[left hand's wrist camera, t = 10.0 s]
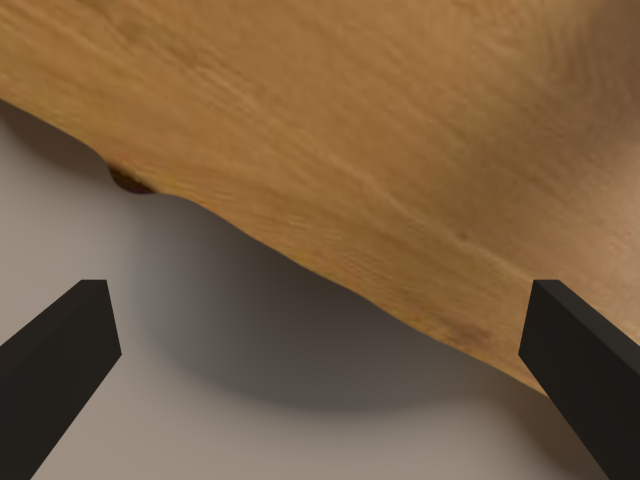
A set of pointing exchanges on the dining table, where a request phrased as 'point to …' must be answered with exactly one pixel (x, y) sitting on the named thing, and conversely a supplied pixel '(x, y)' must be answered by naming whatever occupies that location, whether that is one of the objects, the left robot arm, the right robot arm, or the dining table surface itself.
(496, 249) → the dining table surface
